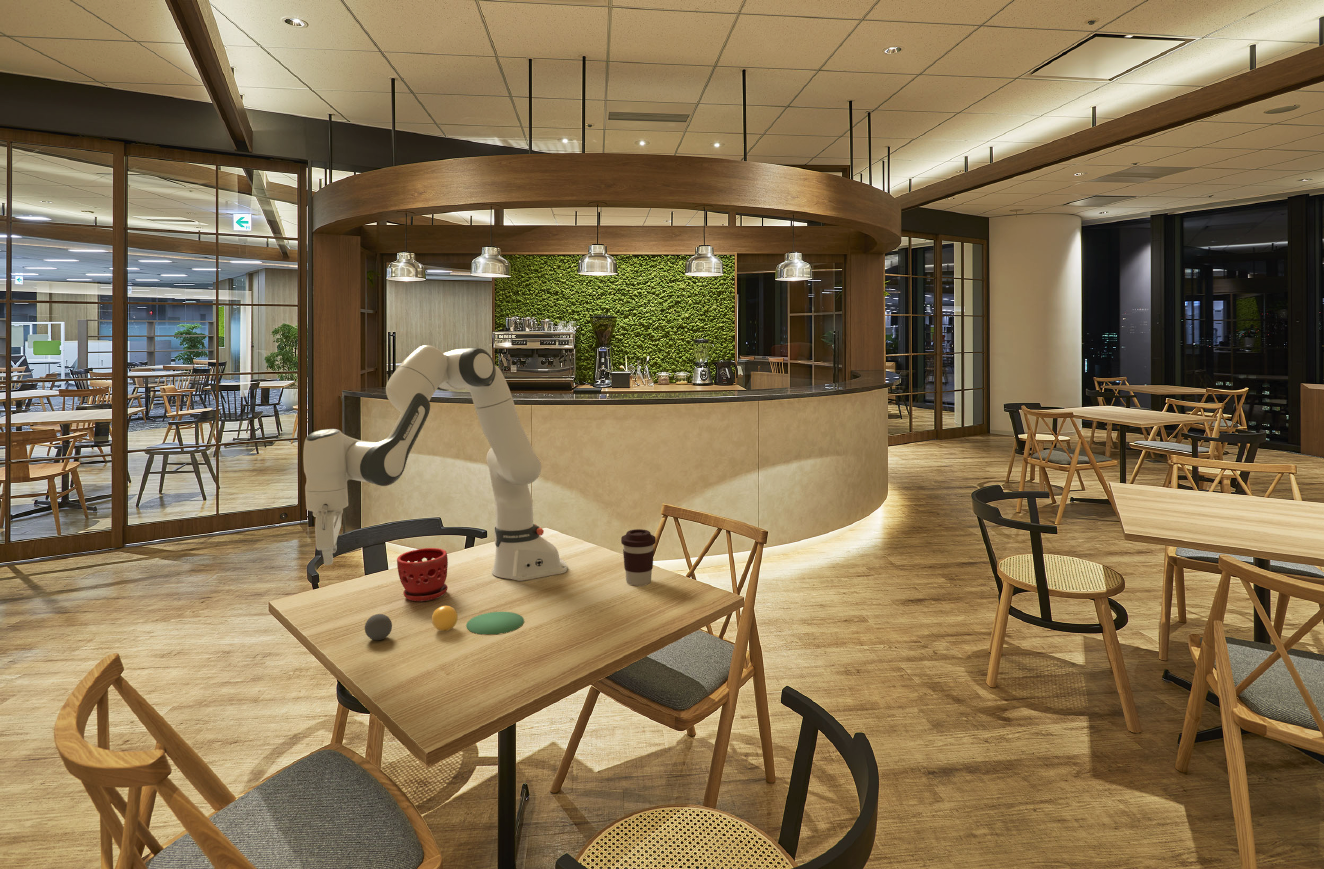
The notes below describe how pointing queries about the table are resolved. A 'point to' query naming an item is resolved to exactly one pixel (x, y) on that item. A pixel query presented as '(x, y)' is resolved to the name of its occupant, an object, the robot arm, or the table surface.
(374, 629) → the dark grey sphere
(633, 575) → the coffee cup
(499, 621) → the green mark
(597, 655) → the table surface
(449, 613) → the orange ball
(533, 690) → the table surface
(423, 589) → the plant pot
